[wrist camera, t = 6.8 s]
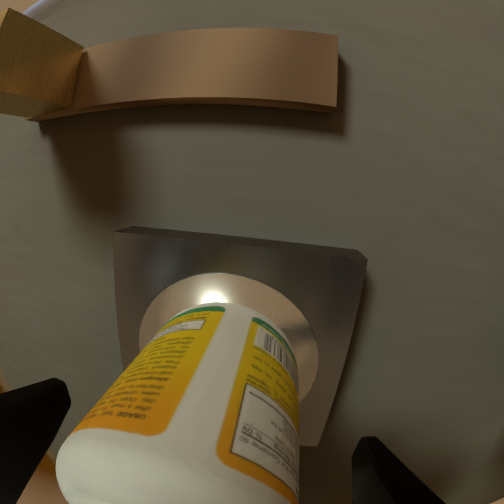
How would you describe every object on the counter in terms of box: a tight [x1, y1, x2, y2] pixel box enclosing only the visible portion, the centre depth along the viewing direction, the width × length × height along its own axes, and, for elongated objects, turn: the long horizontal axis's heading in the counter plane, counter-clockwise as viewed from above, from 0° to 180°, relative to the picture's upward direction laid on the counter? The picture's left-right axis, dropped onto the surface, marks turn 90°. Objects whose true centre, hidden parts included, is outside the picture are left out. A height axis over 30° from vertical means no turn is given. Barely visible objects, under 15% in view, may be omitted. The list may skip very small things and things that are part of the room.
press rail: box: [25, 28, 338, 122], centre depth 10 cm, size 14×3×1 cm, turn 85°
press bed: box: [113, 226, 368, 446], centre depth 11 cm, size 9×9×2 cm
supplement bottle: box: [56, 302, 299, 504], centre depth 6 cm, size 5×5×10 cm
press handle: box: [0, 8, 84, 118], centre depth 7 cm, size 3×3×5 cm
